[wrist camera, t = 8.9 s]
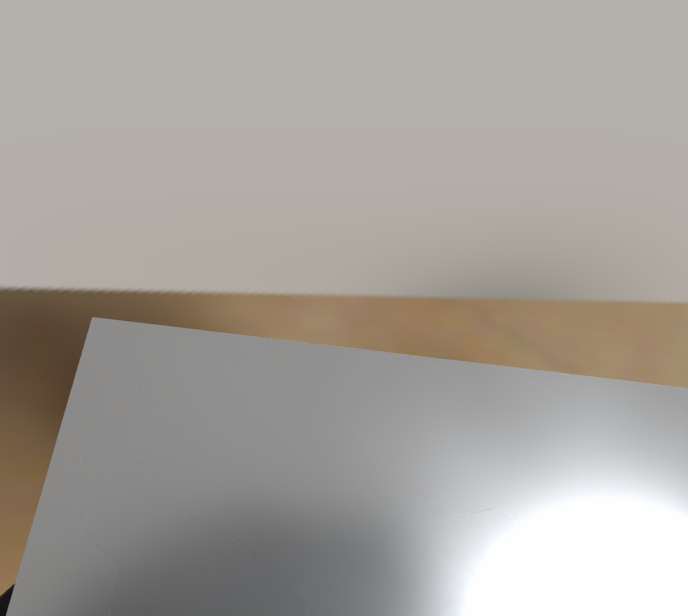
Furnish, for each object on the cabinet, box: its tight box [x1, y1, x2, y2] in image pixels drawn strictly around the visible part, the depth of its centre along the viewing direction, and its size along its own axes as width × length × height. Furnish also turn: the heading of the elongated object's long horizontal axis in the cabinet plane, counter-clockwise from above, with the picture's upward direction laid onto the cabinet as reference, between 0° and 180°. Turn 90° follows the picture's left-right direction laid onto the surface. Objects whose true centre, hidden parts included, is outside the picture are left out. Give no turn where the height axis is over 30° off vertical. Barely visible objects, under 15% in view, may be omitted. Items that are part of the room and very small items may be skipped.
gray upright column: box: [6, 317, 688, 616], centre depth 7 cm, size 5×5×10 cm
